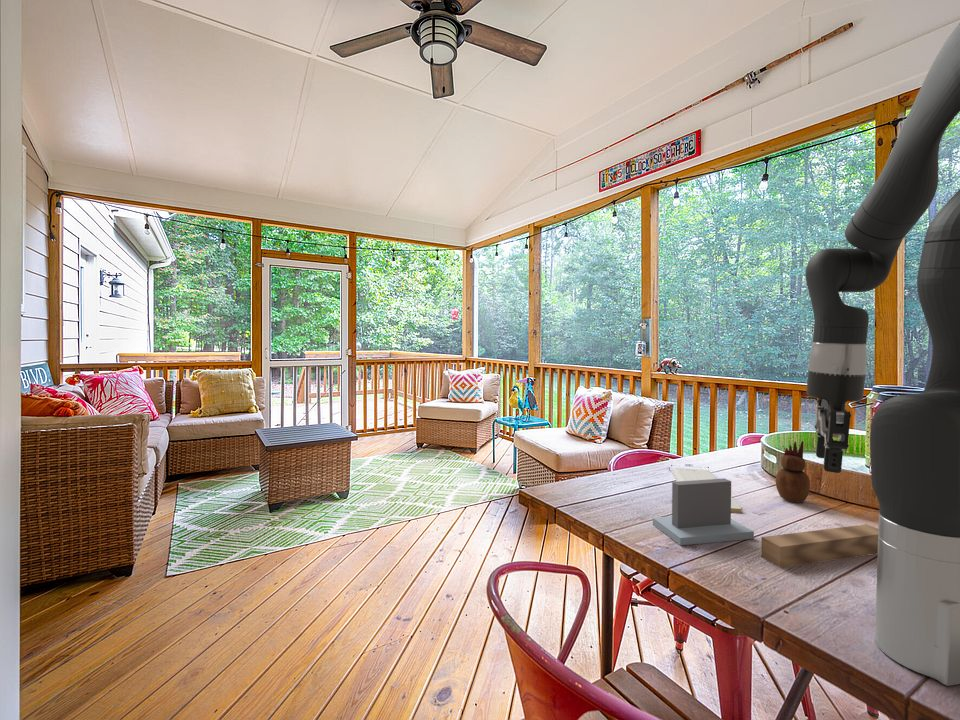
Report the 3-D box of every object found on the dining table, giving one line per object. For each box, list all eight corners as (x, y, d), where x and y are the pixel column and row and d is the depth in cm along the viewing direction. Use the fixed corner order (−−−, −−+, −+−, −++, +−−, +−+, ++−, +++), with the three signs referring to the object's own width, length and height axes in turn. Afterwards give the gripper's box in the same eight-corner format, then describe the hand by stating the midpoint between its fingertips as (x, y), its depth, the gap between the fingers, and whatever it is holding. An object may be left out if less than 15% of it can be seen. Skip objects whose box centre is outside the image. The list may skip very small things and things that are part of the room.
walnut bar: (865, 544, 87) (866, 524, 87) (888, 554, 83) (888, 532, 83) (761, 558, 82) (761, 537, 82) (779, 569, 79) (780, 546, 78)
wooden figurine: (814, 503, 108) (816, 441, 107) (798, 506, 106) (800, 443, 105) (786, 494, 114) (787, 436, 114) (770, 497, 112) (771, 438, 112)
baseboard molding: (685, 511, 106) (741, 515, 103) (685, 498, 106) (741, 503, 103) (665, 472, 136) (708, 475, 133) (665, 462, 136) (709, 465, 133)
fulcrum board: (753, 538, 90) (754, 487, 89) (680, 545, 87) (680, 492, 87) (719, 518, 99) (720, 472, 99) (652, 524, 97) (653, 476, 97)
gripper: (876, 376, 67) (865, 481, 68) (855, 367, 79) (846, 457, 81) (814, 372, 71) (805, 472, 72) (803, 365, 83) (796, 450, 85)
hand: (827, 464), depth 76 cm, fingers open, 8 cm apart
